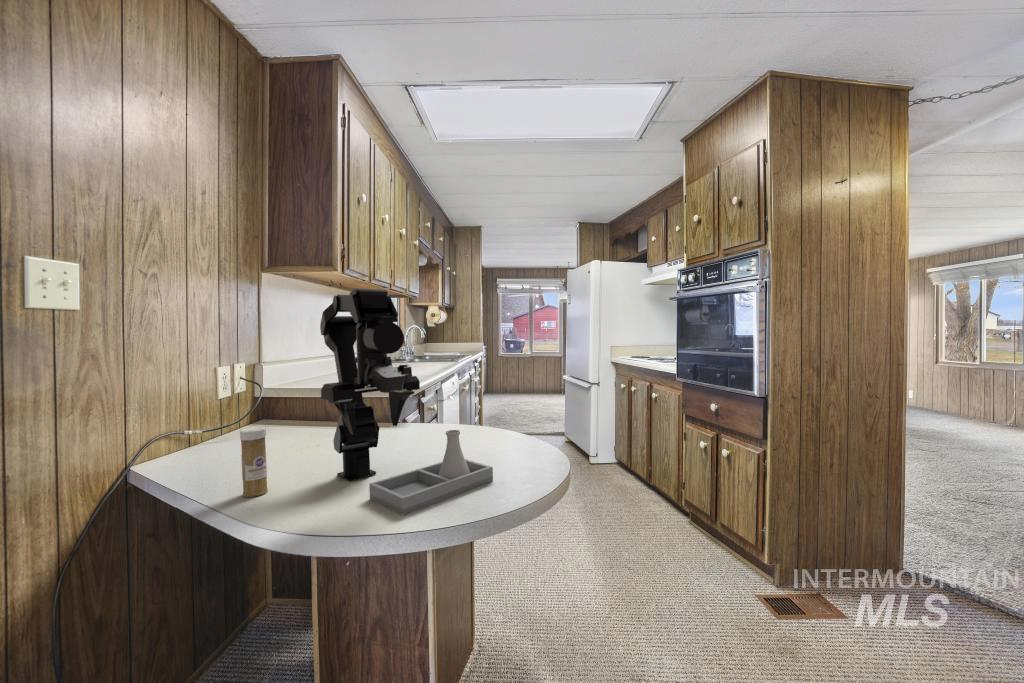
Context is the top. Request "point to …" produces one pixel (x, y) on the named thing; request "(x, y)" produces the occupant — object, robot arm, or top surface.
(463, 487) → the tray
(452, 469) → the flask
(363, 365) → the robot arm
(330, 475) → the top surface
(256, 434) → the sprinkles bottle
